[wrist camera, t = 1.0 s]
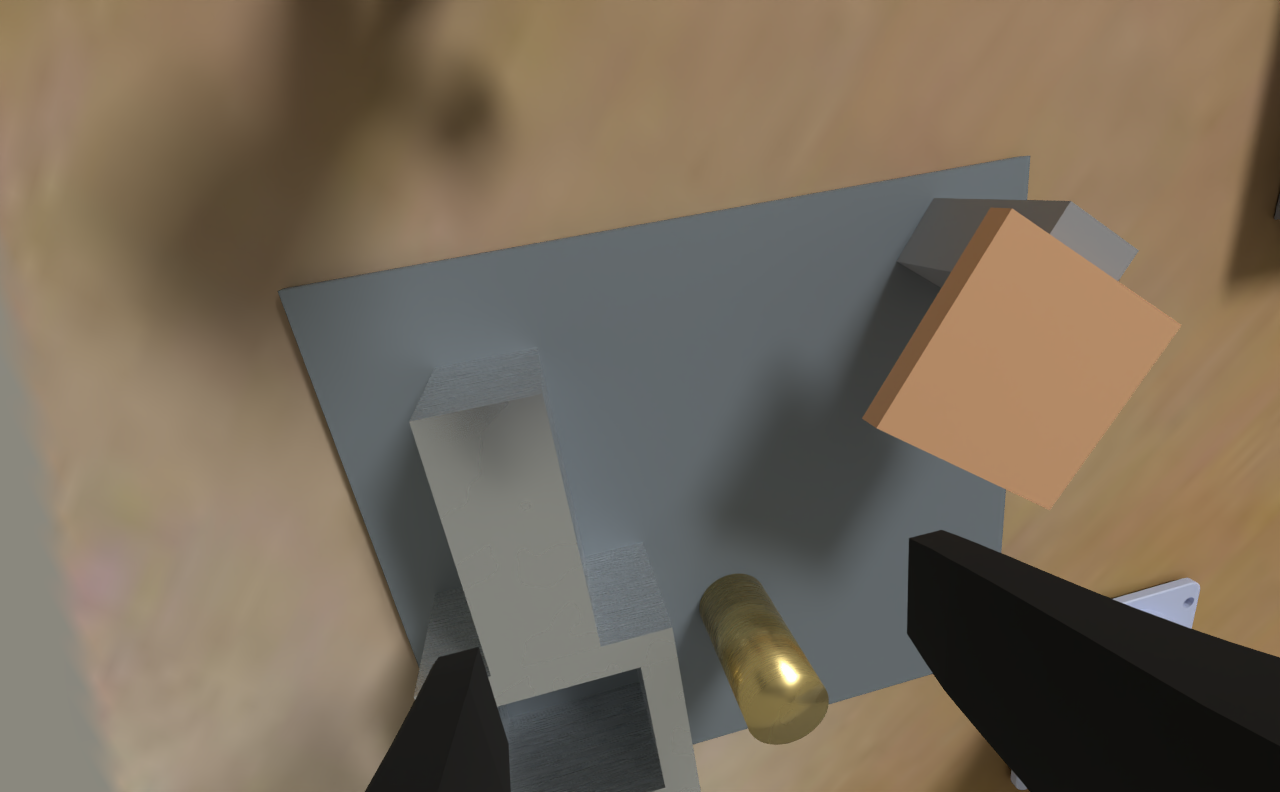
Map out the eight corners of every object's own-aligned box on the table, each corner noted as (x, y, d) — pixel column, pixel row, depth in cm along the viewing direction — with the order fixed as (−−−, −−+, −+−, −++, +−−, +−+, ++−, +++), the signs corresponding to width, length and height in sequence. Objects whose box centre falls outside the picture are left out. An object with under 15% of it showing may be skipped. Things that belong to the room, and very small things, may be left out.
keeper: (882, 169, 17) (1040, 161, 12) (1018, 259, 19) (1209, 286, 14) (775, 360, 18) (876, 428, 13) (913, 427, 20) (1050, 510, 15)
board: (986, 648, 24) (993, 655, 24) (473, 798, 22) (472, 809, 21) (1019, 156, 18) (1030, 155, 17) (283, 288, 15) (278, 291, 15)
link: (670, 694, 21) (702, 800, 18) (487, 746, 21) (480, 868, 17) (604, 333, 17) (628, 375, 13) (362, 382, 16) (314, 441, 12)
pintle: (767, 621, 21) (830, 730, 17) (703, 638, 21) (751, 754, 17) (762, 566, 20) (826, 666, 16) (695, 583, 20) (742, 690, 16)
